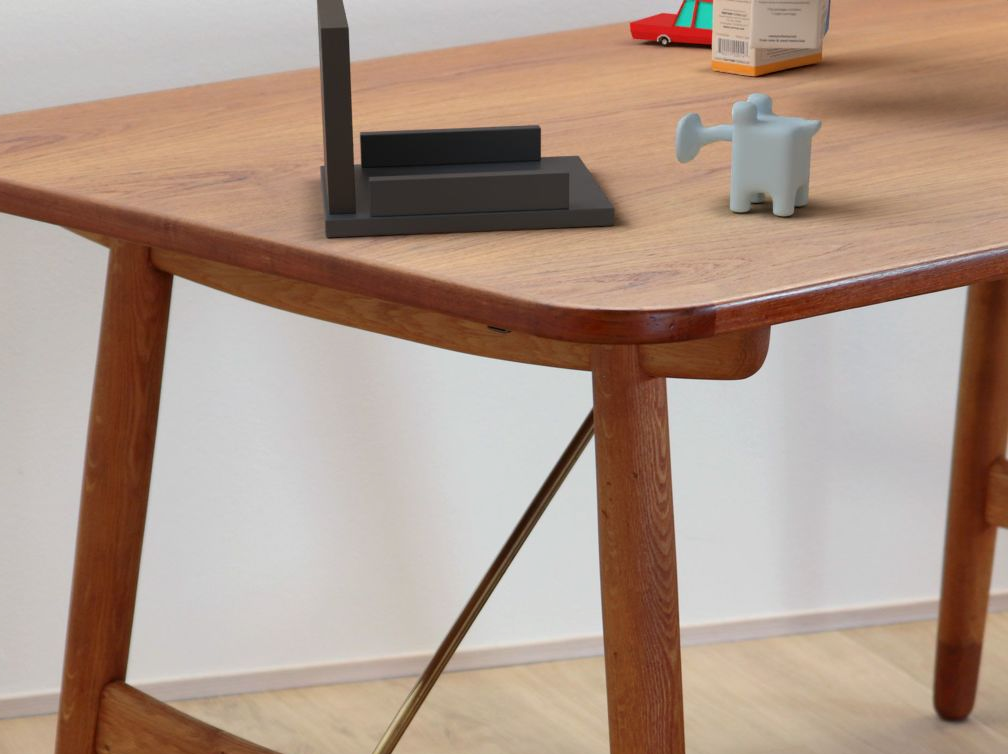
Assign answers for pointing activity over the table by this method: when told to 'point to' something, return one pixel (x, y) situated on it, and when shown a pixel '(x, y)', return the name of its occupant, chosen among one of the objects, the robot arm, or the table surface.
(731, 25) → the supplement box
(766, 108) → the figurine
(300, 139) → the table surface
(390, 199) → the cradle
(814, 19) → the ink box
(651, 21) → the toy car
